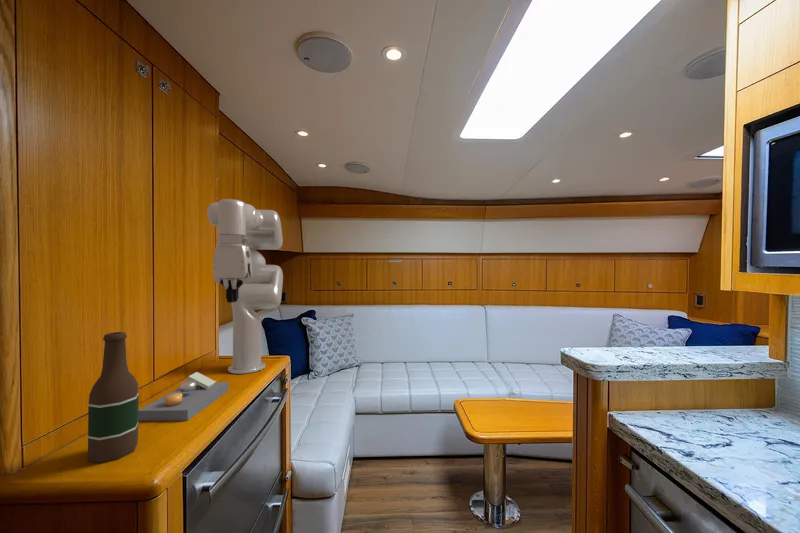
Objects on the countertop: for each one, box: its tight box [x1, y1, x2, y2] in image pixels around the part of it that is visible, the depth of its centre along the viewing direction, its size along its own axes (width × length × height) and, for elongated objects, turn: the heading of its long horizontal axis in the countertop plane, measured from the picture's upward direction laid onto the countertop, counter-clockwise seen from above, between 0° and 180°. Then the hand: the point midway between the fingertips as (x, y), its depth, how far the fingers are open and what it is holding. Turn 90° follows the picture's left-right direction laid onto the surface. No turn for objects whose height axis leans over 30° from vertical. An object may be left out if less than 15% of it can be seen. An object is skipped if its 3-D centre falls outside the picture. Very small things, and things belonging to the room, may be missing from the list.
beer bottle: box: [87, 331, 140, 464], centre depth 66 cm, size 8×8×24 cm
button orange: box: [164, 393, 182, 406], centre depth 84 cm, size 4×4×2 cm
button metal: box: [179, 380, 196, 392], centre depth 90 cm, size 4×4×2 cm
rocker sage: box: [186, 371, 217, 389], centre depth 96 cm, size 4×6×1 cm, turn 91°
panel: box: [138, 381, 230, 422], centre depth 90 cm, size 20×12×4 cm, turn 1°
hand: (232, 301), depth 100 cm, fingers closed
